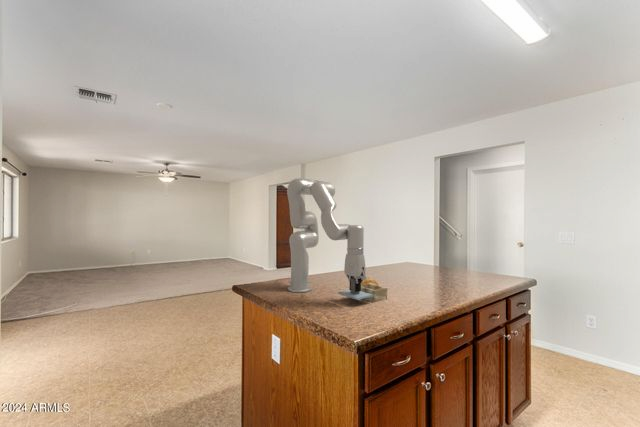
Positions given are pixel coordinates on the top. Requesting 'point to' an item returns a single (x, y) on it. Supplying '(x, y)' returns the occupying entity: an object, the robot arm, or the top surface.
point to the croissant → (369, 281)
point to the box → (374, 292)
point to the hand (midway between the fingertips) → (355, 290)
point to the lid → (352, 292)
